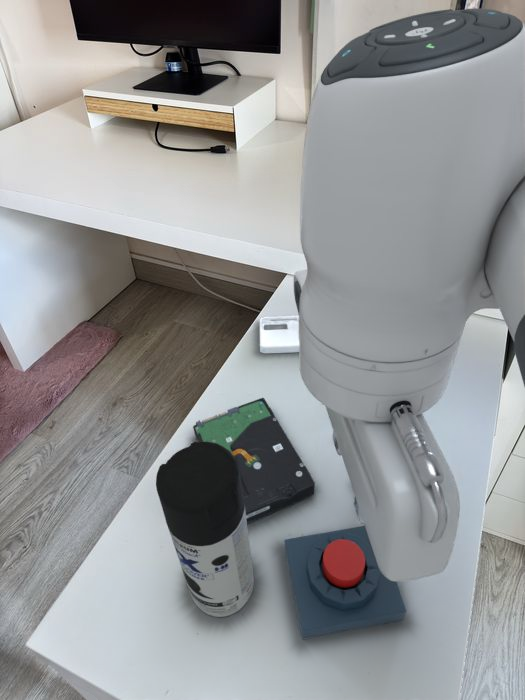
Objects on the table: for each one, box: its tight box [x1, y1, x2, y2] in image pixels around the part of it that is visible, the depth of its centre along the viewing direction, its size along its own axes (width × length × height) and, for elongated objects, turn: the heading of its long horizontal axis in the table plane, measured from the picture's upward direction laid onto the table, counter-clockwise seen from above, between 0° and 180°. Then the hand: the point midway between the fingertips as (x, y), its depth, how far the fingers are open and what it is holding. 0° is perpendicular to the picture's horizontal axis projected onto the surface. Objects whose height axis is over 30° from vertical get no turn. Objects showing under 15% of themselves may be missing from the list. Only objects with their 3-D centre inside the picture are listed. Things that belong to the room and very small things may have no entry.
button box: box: [283, 525, 407, 640], centre depth 50 cm, size 10×9×4 cm
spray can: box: [155, 441, 255, 618], centre depth 45 cm, size 7×7×20 cm
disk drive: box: [192, 397, 316, 524], centre depth 62 cm, size 10×3×15 cm
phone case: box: [259, 315, 299, 354], centre depth 79 cm, size 7×1×15 cm
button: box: [322, 540, 365, 588], centre depth 49 cm, size 4×4×2 cm
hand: (355, 478), depth 39 cm, fingers open, 4 cm apart
